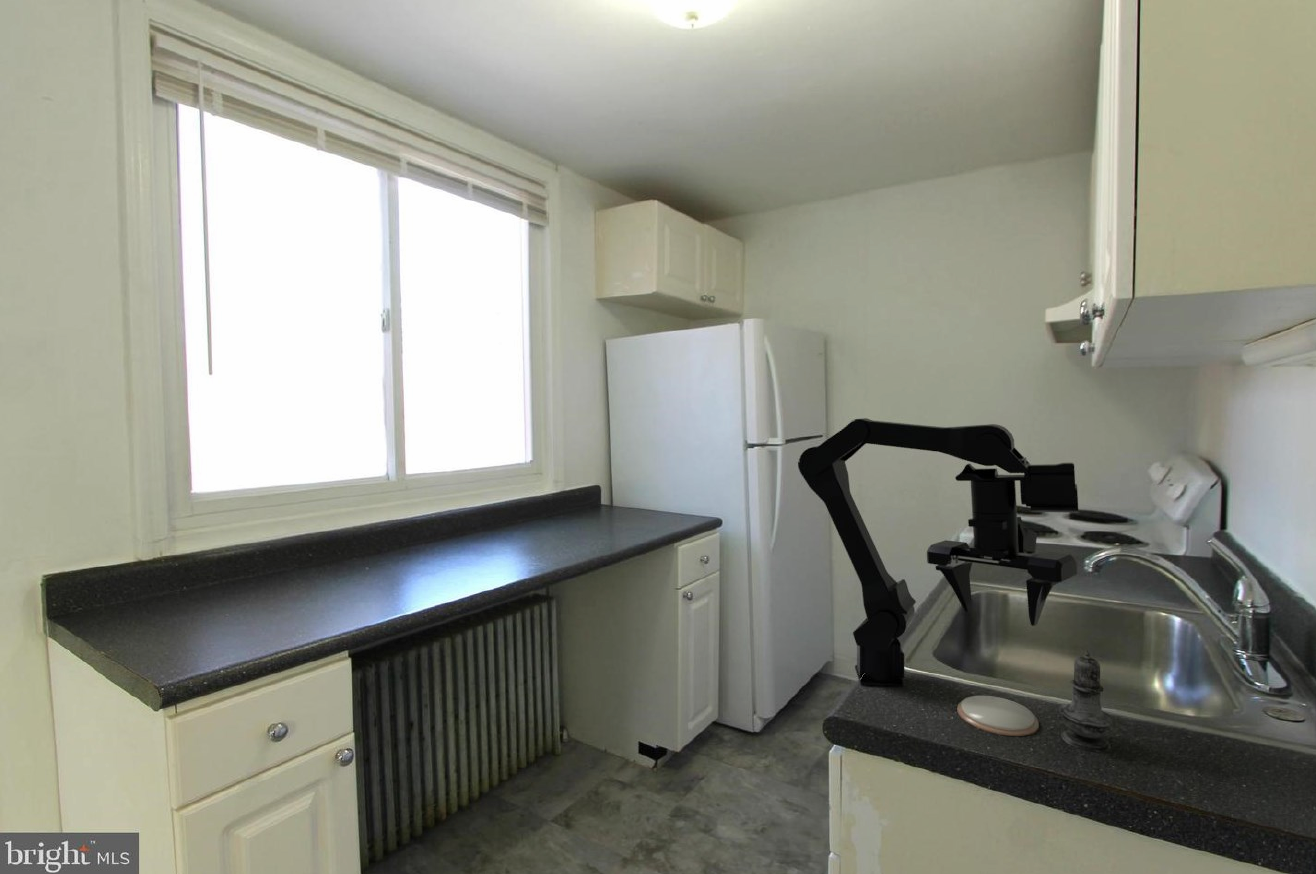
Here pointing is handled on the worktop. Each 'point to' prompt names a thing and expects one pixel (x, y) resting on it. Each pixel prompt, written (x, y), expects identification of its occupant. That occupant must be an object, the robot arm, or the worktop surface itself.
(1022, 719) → the coaster
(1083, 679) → the dark chess piece
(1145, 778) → the worktop surface
